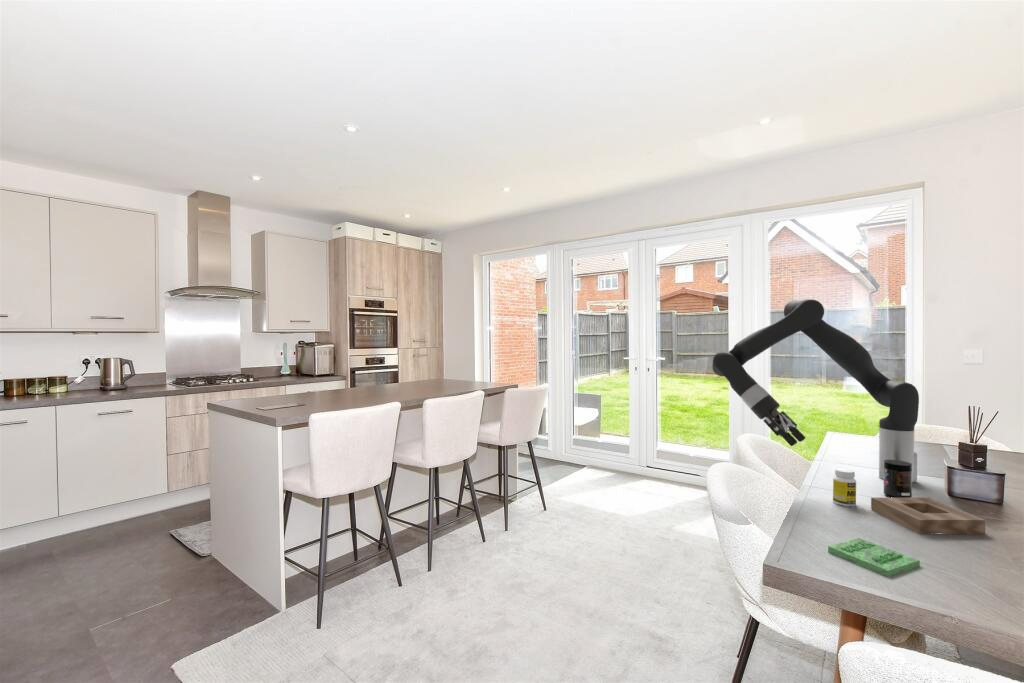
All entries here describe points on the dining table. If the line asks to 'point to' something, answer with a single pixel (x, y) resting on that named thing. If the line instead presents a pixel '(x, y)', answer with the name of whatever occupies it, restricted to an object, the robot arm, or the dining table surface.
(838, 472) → the supplement bottle
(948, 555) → the dining table surface
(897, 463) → the supplement container
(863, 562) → the green jade tablet
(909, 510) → the walnut pocket block
